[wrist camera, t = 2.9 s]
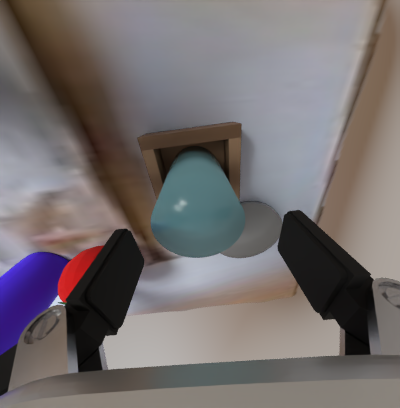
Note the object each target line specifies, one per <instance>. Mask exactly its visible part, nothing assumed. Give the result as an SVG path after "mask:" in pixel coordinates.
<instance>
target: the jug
mask: <svg viewBox="0 0 400 408" xmlns="http://www.w3.org/2000/svg"><path fill="white" fill-rule="evenodd" d="M244 227H245V213H244V210H243V207H242V205H241V204H240V202H239V200H238V198H237V196H236V194H235V192H234V190H233V189H232V187H231V185H230V183H229V181H228V179H227V177H226V175H225V173H224V172H223V170H222V168H221V166H220V164H219V162H218V160H217V159H216V157H215V155H214V154H213V153H212V152H211V151H209V150H208V149H206V148H204V147H201V146H190V147H187V148H184V149H182V150H181V151H180V152H179V153H178V154H177V155H176V156H175V158H174V160H173V162H172V164H171V167H170V169H169V172H168V175H167V177H166V180H165V182H164V185H163V187H162V190H161V192H160V195H159V197H158V200H157V202H156V205H155V207H154V210H153V212H152V216H151V229H152V232H153V234H154V236H155V238H156V239H157V241H158V242H159V243H160V244H161V245H162V246H163V247H164V248H166V249H167V250H169V251H171V252H173V253H175V254H178V255H181V256H185V257H193V258H200V257H208V256H212V255H216V254H218V253H221V252H223V251H225V250H226V249H228V248H229V247H231V246H232V245H233V244H234V243H235V242H236V241H237V240H238V239H239V237H240V236H241V234H242V232H243V230H244Z"/></svg>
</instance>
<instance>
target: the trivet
mask: <svg viewBox="0 0 400 408" xmlns="http://www.w3.org/2000/svg"><path fill="white" fill-rule="evenodd" d="M240 204H241V205H242V207H243V210H244V213H245V227H244V230H243V232H242V234H241V236H240V237H239V239H238V240H237V241H236V242H235V243H234V244H233V245H232V246H231V247H229V248H228V249H226V250H225V251H223V252H221V254H223V255H225V256H228V257H232V258H246V257H251V256H255V255H257V254H260V253H262V252H264V251H265V250H267V249H268V248H270V247H271V246H272V245H273V244H274V243H275V242H276V241H277V239H278V238H279V236H280V233H281V228H282V221H281V218H280V216H279V215H278V214H277V213H276V211H275V210H274V209H273V208H272V207H270V206H269V205H267V204H264V203H261V202H256V201H247V202H241V203H240Z"/></svg>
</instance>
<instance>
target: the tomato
mask: <svg viewBox="0 0 400 408" xmlns="http://www.w3.org/2000/svg"><path fill="white" fill-rule="evenodd" d="M103 247H104V246H96V247H93V248H90V249H87V250H85V251H83V252H81V253H80V254H78V255H77V256H76V257H74V258H73V259H72V260H70V261H69V262H68V264H67V265H66V266H65V268H64V270H63V272H62V274H61V277H60V279H59V282H58V295H59V297H60V299H61V300H62V301H63V302H58V303H61V304H65V305H66V303H67V302H66V301H65V300H66V298H67V297H68V295H69V294H70V293H71V291H72V290H73V289H74V287H75V286H76V284H77V283H78V282H79V280H80V279H81V277H82V276H83V275H84V273H85V272H86V270H87V269H88V268H89V266H90V265H91V263H92V262H93V261H94V259H95V258H96V256H97V255H98V254H99V252H100V251H101V249H102V248H103Z"/></svg>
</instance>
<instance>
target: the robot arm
mask: <svg viewBox="0 0 400 408" xmlns="http://www.w3.org/2000/svg"><path fill="white" fill-rule="evenodd" d="M278 251H279V253H280V255H281V256H282V258H283V259H284V261H285V263H286V264H287V266H288V268H289V269H290V271H291V273H292V274H293V276H294V278H295V279H296V281H297V283H298V284H299V286H300V288H301V289H302V291H303V292H304V294H305V296H306V297H307V299H308V301H309V302H310V304H311V306H312V307H313V309H314V310H315V311H316V312H317V313H320V315H321V316H322V318H323V320H327V319H335V320H336V321H337V323H338V324H339V326H340V355H339V356H323V357H322V356H321V357H304V358H287V359H270V360H252V361H236V362H219V363H203V364H187V365H172V366H159V367H158V366H157V367H144V368H127V369H113V370H108V367H107V362H106V357H105V352H104V347H103V340H104V338H105V335H106V336H109V335H116V334H117V332H118V329H119V328H120V327H121V326H122V324H123V322H124V319H125V316H126V314H127V311H128V308H129V305H130V302H131V300H132V297H133V294H134V291H135V288H136V286H137V283H138V280H139V277H140V274H141V272H142V269H143V266H144V258H143V256H142V254H141V252H140V250H139V248H138V246H137V244H136V241H135V239H134V237H133V235H132V233H131V231H128V230H127V229H118V230H115V231H114V233H113V234H112V236H111V237H110V238H109V240H108V241H107V242H106V244H105V245H104V247H103V248H102V249H101V251H100V252H99V254H98V255H97V256H96V258H95V259H94V261H93V262H92V263H91V265H90V266H89V268H88V269H87V270H86V272H85V273H84V275H83V276H82V277H81V279H80V280H79V282H78V283H77V284H76V286H75V287H74V289H73V290H72V291H71V293H70V294H69V295H68V297H67V298H66V300H65V301H66V302H67V303H66V305H65V306H63V305H56V306H52V307H50V308H48V309H46V310H44V311H43V312H42V313H40V314H39V315H37V316H36V317H35V318H34V319H33V320H32V321H31V322H30V323H29V324H28V325H27V327H26V328H25V329H24V331H23V332H22V334H21V335H20V338H19V340H18V343H17V344H16V345H14V346H13V347H12V348H10V349H9V350H7V351H6V352H4V353H3V354H2V355H0V408H400V282H399V281H396V280H393V279H388V278H377V279H375V280H373V279H372V278H371V277H370V275H371V274H370V273H369V272H368V271H367V270H366V269H365V268H364V267H362V266H361V265H360V264H359V263H358V262H357V261H356V260H355V259H354V258H352V257H351V256H350V255H349V254H348V253H347V252H346V251H345V250H344V249H343V248H341V247H340V246H339V245H338V244H337V243H336V242H335V241H334V240H333V239H331V238H330V237H329V236H328V235H327V234H326V233H325V232H324V231H323V230H322V229H320V228H319V227H318V226H317V225H316V224H315V223H314V222H313V221H312V220H311V219H309V218H308V217H307V216H306V215H305V214H304V213H303V212H302V211H300V210H296V211H289V212H287V214H285V215H284V219H283V224H282V228H281V233H280V238H279V242H278Z"/></svg>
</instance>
